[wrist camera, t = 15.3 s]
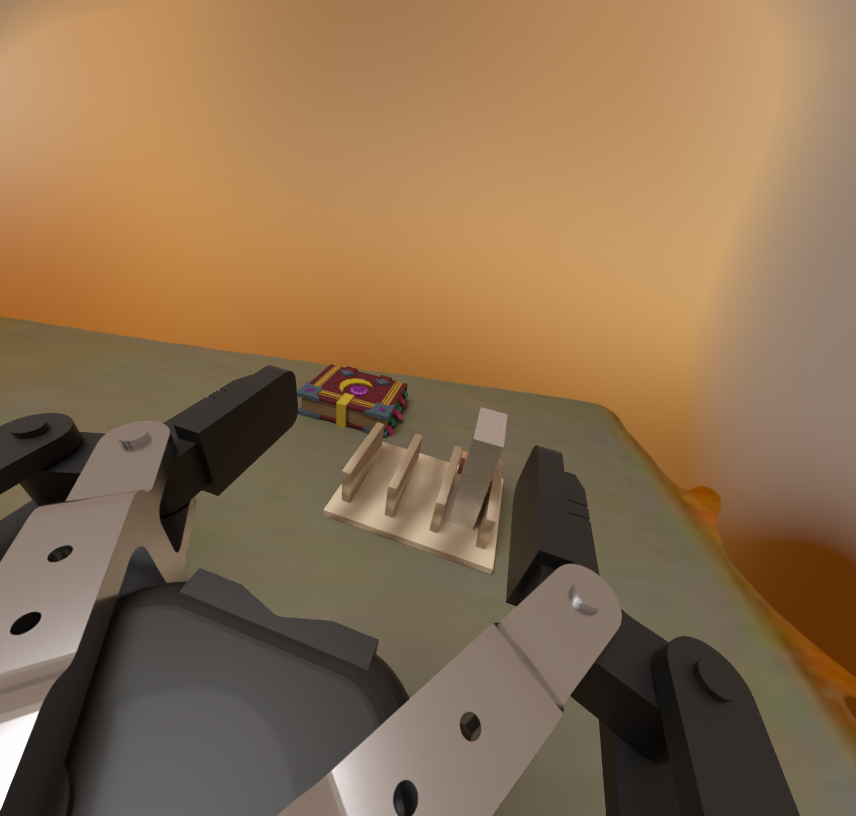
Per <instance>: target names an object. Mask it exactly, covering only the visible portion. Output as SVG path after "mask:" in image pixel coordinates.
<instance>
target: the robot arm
mask: <svg viewBox="0 0 856 816" xmlns="http://www.w3.org/2000/svg"><path fill="white" fill-rule="evenodd" d="M297 415H298V402H297V390H296V378H295V375H294V373H293V372H291V371H288V370H285V369H281V368H278V367H274V366H271V365H269V366H266V367H264V368H263V369H261V370H260V371H258V372H257V373H255V374H253V375H250V376H246V377H243V378H240V379H237V380H234V381H232V382H230V383H229V384H227V385H225V386H224V387H222V388H220V391H218V390H217V391H216V392H214V393H212V394H211V395H209V397H208V398H207V397H206V398H204V399H202V400H201V401H199V402H197V403H196V404H194V405H192V406H191V407H189V408H188V409H186V410H184V411H183V412H181V413H179V414H178V415H176V416H174V417H173V418H171V419H169V420H168V421H166V422H164V423H160V422H155V421H140V422H134V423H129V424H126V425H123V426H120V427H118V428H115V429H113V430H112V431H110V432H108V433H107V434H102V433H87V432H79V430H78V429H77V427H76V425H75V424H74V422H73V420H72V419H71V418H70V417H69V416H67V415H64V414H58V413H44V414H36V415H31V416H27V417H23V418H19V419H16V420H14V421H11V422H9V423H6V424H4V425H2V426H0V494H2V493H3V492H5V491H7V490H8V489H10V488H12V487H14V486H15V485H17V484H19V483H20V485H21V486H22V487H23V488H24V489H25V491H26V492H27V493H28V494H29V496H30V497H31V498H32V499H33V500H32V501H30V502H29V503H27V504H25V505H24V506H22V507H21V508H19V509H18V510H16V511H15V512H13V513H11V514H10V515H8V516H7V517H5V518H4V519H2V520H1V521H0V816H492V815H493V814H494V812H495V811H496V810H497V808H498V807H499V805H500V804H501V802H502V801H503V800H504V798H505V797H506V795H507V794H508V793H509V791H510V790H511V788H512V787H513V786H514V784H515V783H516V781H517V780H518V779H519V777H520V776H521V774H522V773H523V771H524V770H525V769H526V767H527V766H528V764H529V763H530V762H531V760H532V759H533V757H534V756H535V755H536V753H537V752H538V750H539V749H540V748H541V746H542V745H543V743H544V742H545V740H546V739H547V738H548V736H549V735H550V733H551V732H552V731H553V729H554V728H555V726H556V725H557V723H558V722H559V720H560V718H561V716H562V714H563V712H564V709H563V706H564V704H565V702H566V701H567V699H568V698H569V696H571V697H572V698H573V699H575V700H576V701H577V702H578V703H580V704H581V705H582V706H583V707H585V708H586V709H587V710H588V711H589V712H591V713H592V714H593V715H594V716H596V717H597V718H598V719H599V727H600V740H601V753H602V766H603V780H604V793H605V806H606V816H800V815H799V812H798V810H797V807H796V804H795V802H794V799H793V797H792V794H791V792H790V789H789V787H788V784H787V781H786V779H785V776H784V774H783V771H782V769H781V766H780V764H779V761H778V759H777V756H776V753H775V751H774V748H773V746H772V743H771V741H770V738H769V736H768V733H767V730H766V728H765V725H764V723H763V720H762V718H761V715H760V713H759V710H758V708H757V705H756V702H755V700H754V698H753V696H752V693H751V691H750V690H749V688H748V686H747V684H746V683H745V681H744V680H743V678H742V677H741V675H740V674H739V673H738V672H737V670H736V669H735V668H734V667H733V666H732V665H731V664H730V663H729V662H728V660H727V659H725V658H724V657H723V656H722V655H721V654H720V653H719V652H717V651H716V650H715V649H713V648H712V647H711V646H709V645H707V644H706V643H704V642H702V641H700V640H698V639H695V638H692V637H687V636H680V637H677V638H674V639H673V640H672V641H670V642H667V641H666V640H664V639H663V638H661V637H660V636H658V635H657V634H655V633H654V632H652V631H651V630H649V629H648V628H646V627H645V626H643V625H642V624H640V623H639V622H637V621H636V620H634V619H633V618H632V617H630V616H629V615H627V614H626V613H625V612H624V611H623V610H622V609H621V607H620V604H619V601H618V599H617V597H616V595H615V594H614V592H613V590H612V589H611V588H610V586H609V585H608V584H607V583H606V582H605V581H604V580H603V579H602V578H601V577H600V575H599V570H598V564H597V559H596V553H595V547H594V541H593V535H592V529H591V523H590V522H589V519H590V518H589V512H588V509H587V500H586V494H585V490H584V488H583V487H582V485H581V483H580V482H579V480H578V478H577V477H576V475H574V474H571V473H568V472H564V466H563V456H562V453H561V452H557V451H554V450H551V449H547V448H544V447H541V446H537V445H536V446H535V447H534V448H533V450H532V452H531V454H530V456H529V458H528V460H527V462H526V465H525V467H524V469H523V471H522V473H521V475H520V477H519V480H518V482H517V485H516V488H515V493H514V498H513V511H512V525H511V539H510V553H509V567H508V582H507V596H506V603H509V604H512V605H514V606H517V607H516V608H515V609H513V610H512V611H511V612H510V613H509V614H508V615H507V616H506V617H505V618H504V619H503V620H501V621H500V622H499V623H494V624H492V625H491V626H489V627H488V628H487V629H486V630H485V631H483V632H482V633H481V634H480V635H479V636H478V637H477V638H476V639H475V640H474V641H472V642H471V643H470V644H469V645H468V646H467V647H466V648H465V649H464V650H463V651H462V652H460V653H459V654H458V655H457V656H456V657H455V658H454V659H453V660H452V661H451V662H450V663H448V664H447V665H446V666H445V667H444V668H443V669H442V670H441V671H440V672H439V673H438V674H436V675H435V676H434V677H433V678H432V679H431V680H430V681H429V682H428V683H427V684H426V685H424V686H423V687H422V688H421V689H420V690H419V691H418V692H417V693H416V694H415V695H413V696H412V697H411V698H409V696H408V694H407V692H406V690H405V688H404V686H403V685H402V683H401V681H400V680H399V678H398V677H397V676H396V674H395V673H394V671H393V670H392V669H391V668H390V667H389V666H388V664H387V663H386V662H385V661H384V660H382V659H381V658H380V657H379V656H378V655H377V654H376V651H377V646H378V639H375V638H373V637H370V636H368V635H365V634H363V633H360V632H358V631H355V630H353V629H350V628H348V627H345V626H343V625H340V624H338V623H335V622H333V621H324V620H312V619H300V618H287V617H279V616H277V615H275V614H274V613H272V612H271V611H270V610H269V609H268V608H267V607H266V606H264V605H263V604H262V603H261V602H260V601H259V600H258V599H257V598H256V597H254V596H253V595H252V594H251V593H250V592H249V591H248V590H247V589H245V588H244V587H243V586H242V585H241V584H238V583H236V582H233V581H231V580H228V579H226V578H223V577H221V576H218V575H216V574H213V573H211V572H208V571H206V570H203V569H201V568H199V570H198V571H197V572H196V573H195V574H194V575H193V576H192V577H191V578H190V580H189V581H187V573H186V556H187V551H188V545H189V540H190V535H191V529H192V524H193V518H194V513H195V508H196V499H195V496H196V495H197V494H198V493H199V492H200V491H201V490H203V491H206V492H209V493H211V494H214V495H217V496H219V495H220V494H221V493H222V492H223V491H224V490H225V489H226V488H227V487H228V486H229V485H230V484H231V483H232V482H233V481H234V480H236V479H237V478H238V477H239V476H240V475H241V474H242V473H243V472H244V471H245V470H246V469H247V468H248V467H249V466H250V465H251V464H253V463H254V462H255V461H256V460H257V459H258V458H259V457H260V456H261V455H262V454H263V453H264V452H265V451H266V450H267V449H268V448H270V447H271V446H272V445H273V444H274V443H275V442H276V441H277V440H278V439H279V438H280V437H281V436H282V435H283V434H284V433H285V432H287V431H288V430H289V429H290V428H291V427H292V426H293V424H294V423H295V421H296V418H297Z"/></svg>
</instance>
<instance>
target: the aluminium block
mask: <svg viewBox="0 0 856 816" xmlns="http://www.w3.org/2000/svg"><path fill="white" fill-rule="evenodd" d="M506 422H507V414H504V413H500V412H497V411H493V410H489V409H486V408H482V407H481V409H480V412H479V416H478V419H477V422H476V426H475V429H474V433H473V436H472V439H471V443H470V446H469V449H468V453H467V456H466V460H465V463H464V466H463V470H462V473H461V477H460V480H459V483H458V487H457V491H456V494H455V498H454V502H453V506H452V510H451V514H450V517H449V521H448V522H451V523H454V524H457V525H460V526H463V527H466V528H469V529H472V530H473V528H474V525H475V523H476V520H477V517H478V515H479V512H480V509H481V507H482V504H483V501H484V499H485V496H486V493H487V491H488V488H489V485H490V482H491V480H492V477H493V474H494V472H495V469H496V466H497V464H498V461H499V458H500V456H501V453H502V450H503V448H504V440H505V431H506Z"/></svg>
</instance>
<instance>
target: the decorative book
mask: <svg viewBox="0 0 856 816" xmlns="http://www.w3.org/2000/svg"><path fill="white" fill-rule="evenodd" d="M357 370H358V369H355V368H351V367H346V368H343V367H339V366H335V365H330V366H328V367H327V368H326V369H325V370H324V371H323V372H322V373H320V374H319V375H318V376H317V377H316V378H315V379H313V380H312V381H311V382H308V383H307V384H305V385H304V386H303V387H302V388H301V389H299V390H298V391H297V396H298V397H302V407H301V408H299V409H298V414H301V415H305V416H308V417H312V418H316V419H319V420H320V418H321V419H324V420H328V421H331V422H335V423H336V425H337V426H341V427H344V428H346V427H347V426H349V427H353V428H357V429H360V430H363V432H366V433H370V432H371V430H372V429H373V428H374V426H375V425H376V423H377V422H379V423H382V424H384V432H383V438H386V437H387V435H388V433H390V435H391V436H393V434H394V432H395V431H394V430H393V429H392V426H394V425H395V424H396V421H395V418H396V417H398V418H399V419H400V420H401V419H402V417H403V415H402V414H401V413H400V411H401V410H402V406H403V408H404V406H405V405H406V401H405V398H407V396H408V393H407V384H405V383H401V382H397V381H393V380H392V378H390V377H386V376H383V375H381V376H380V377H378V376H374V375H370V374H366V373H362V372H358V371H357Z"/></svg>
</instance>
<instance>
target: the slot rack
mask: <svg viewBox="0 0 856 816" xmlns="http://www.w3.org/2000/svg"><path fill="white" fill-rule="evenodd" d="M383 432H384V424H382V423H379V422H377V423H376V425H375V426H374V428H373V429H372V430H371V432H370V433H369V434H368V436H367V437H366V439H365V440H364V441H363V443H362V444H361V445H360V447H359V448H358V450H357V451H356V452H355V454H354V455H353V456H352V458H351V459H350V461H349V462H348V463H347V465H346V466H345V467H344V469H343V470H342V484H341V485H340V487H339V488H338V490H337V491H336V493H335V494H334V495H333V497H332V498H331V500H330V501H329V503H328V504H327V506H326V507H325V508H324V510H323V511H324V516H327V517H330V518H332V519H335V520H338V521H341V522H344V523H347V524H349V525H352V526H355V527H358V528H361V529H363V530H366V531H369V532H372V533H375V534H378V535H380V536H383V537H386V538H389V539H392V540H394V541H397V542H400V543H403V544H406V545H409V546H411V547H414V548H417V549H420V550H423V551H425V552H428V553H431V554H434V555H437V556H440V557H442V558H445V559H448V560H451V561H454V562H457V563H459V564H462V565H465V566H468V567H471V568H473V569H476V570H479V571H482V572H485V573H488V574H490V575H491V573H492V571H493V565H494V557H495V548H496V540H497V531H498V523H499V514H500V506H501V498H502V489H503V481H504V479H501V478H502V470H503V462H504V460H501V459H499V461H498V464H497V466H496V469H495V472H494V474H493V477H492V480H491V482H490V485H489V488H488V491H487V493H486V496H485V499H484V501H483V504H482V507H481V509H480V512H479V515H478V517H477V520H476V523H475V525H474V528H473V530H472V529H469V528H466V527H463V526H460V525H457V524H454V523H451V522H448V521H449V517H450V514H451V510H452V506H453V502H454V498H455V494H456V491H457V487H458V483H459V480H460V477H461V473H462V470H463V466H464V463H465V460H466V456H467V453H468V452H466V451H463V455H462V458H461V462H460V465H458V462H459V458H460V455H461V451H462V447H458V446H455V447H454V450H453V453H452V456H451V459H450V462H446V461H443V460H439V459H436V458H433V457H430V456H427V455H423V454H420V447H421V442H422V435H419V434H415V436H414V438H413V439H412V441H411V443H410V445H409V447H408V449H404V448H401V447H398V446H394V445H391V444H388V443H385V442H383Z"/></svg>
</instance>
